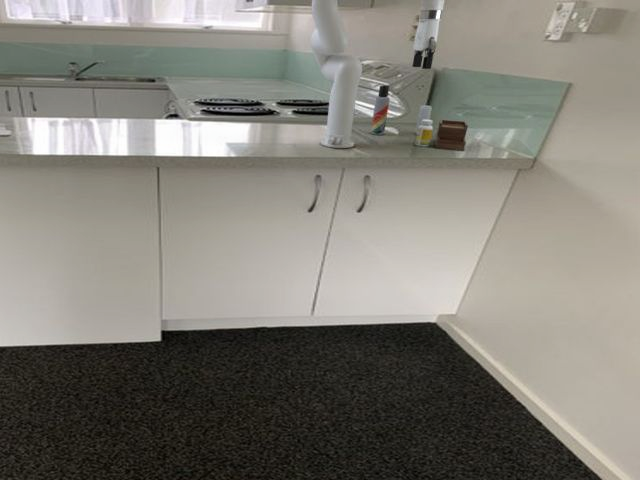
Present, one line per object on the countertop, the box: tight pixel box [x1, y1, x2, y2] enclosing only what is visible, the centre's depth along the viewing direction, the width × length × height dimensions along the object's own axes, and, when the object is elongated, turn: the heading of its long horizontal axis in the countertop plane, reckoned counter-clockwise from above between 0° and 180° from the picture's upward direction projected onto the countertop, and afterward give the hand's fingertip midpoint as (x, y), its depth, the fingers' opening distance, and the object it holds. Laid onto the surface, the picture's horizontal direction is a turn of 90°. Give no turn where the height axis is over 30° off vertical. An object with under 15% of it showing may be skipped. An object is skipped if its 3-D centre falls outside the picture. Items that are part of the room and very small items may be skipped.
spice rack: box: [434, 119, 469, 152], centre depth 165 cm, size 15×10×8 cm, turn 159°
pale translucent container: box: [414, 104, 433, 136], centre depth 183 cm, size 5×5×12 cm
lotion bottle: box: [370, 85, 390, 136], centre depth 180 cm, size 6×6×20 cm
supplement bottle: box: [414, 119, 434, 147], centre depth 164 cm, size 5×5×10 cm
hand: (421, 67), depth 160 cm, fingers open, 9 cm apart
